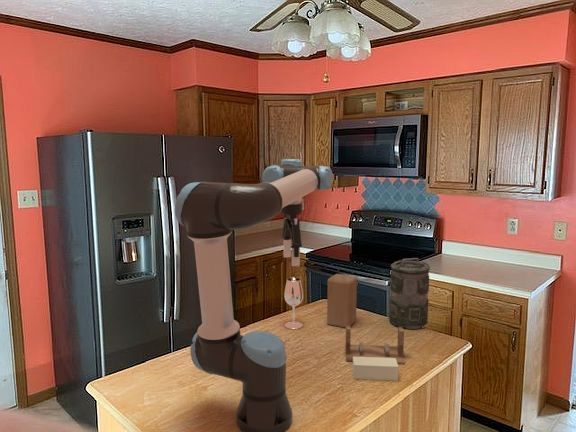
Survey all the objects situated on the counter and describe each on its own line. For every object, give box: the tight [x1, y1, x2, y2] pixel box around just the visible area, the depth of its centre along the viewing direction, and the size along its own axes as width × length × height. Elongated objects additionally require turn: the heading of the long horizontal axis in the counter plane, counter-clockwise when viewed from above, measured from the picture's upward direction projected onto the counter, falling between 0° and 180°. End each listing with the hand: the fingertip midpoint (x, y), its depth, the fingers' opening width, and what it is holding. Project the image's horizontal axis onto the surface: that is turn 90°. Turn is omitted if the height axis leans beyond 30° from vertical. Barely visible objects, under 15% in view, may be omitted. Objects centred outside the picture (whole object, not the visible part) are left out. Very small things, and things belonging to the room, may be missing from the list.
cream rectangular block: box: [352, 357, 399, 382], centre depth 146 cm, size 6×14×5 cm, turn 85°
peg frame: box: [344, 325, 406, 365], centre depth 161 cm, size 13×20×10 cm, turn 84°
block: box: [326, 273, 358, 329], centre depth 189 cm, size 10×10×20 cm
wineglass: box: [283, 277, 304, 330], centre depth 187 cm, size 8×8×20 cm
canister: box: [388, 257, 431, 330], centre depth 189 cm, size 16×16×28 cm
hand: (291, 261), depth 163 cm, fingers open, 13 cm apart
